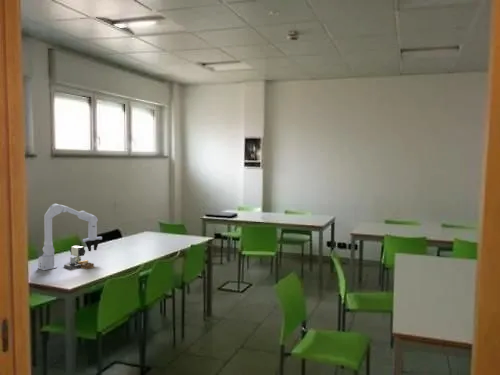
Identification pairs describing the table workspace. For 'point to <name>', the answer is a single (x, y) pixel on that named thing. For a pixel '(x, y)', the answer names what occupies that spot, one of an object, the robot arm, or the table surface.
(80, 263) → the drift key
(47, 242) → the robot arm
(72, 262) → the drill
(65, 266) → the socket block
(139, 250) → the table surface
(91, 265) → the rack
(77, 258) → the pneumatic valve
